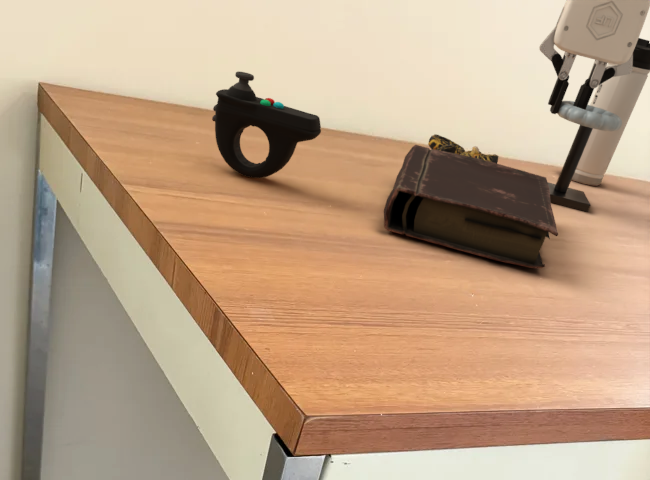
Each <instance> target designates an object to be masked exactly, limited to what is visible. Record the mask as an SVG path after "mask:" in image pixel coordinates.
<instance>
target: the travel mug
mask: <svg viewBox="0 0 650 480" xmlns="http://www.w3.org/2000/svg"><path fill="white" fill-rule="evenodd" d="M615 65H618V64H611V63H607V65H606V67H609V66H610V67H611V66H615ZM649 74H650V40H648V39H644V38H641V37H639V38H638V41H637V43H636V46H635V49H634V51H633V67H632V72H631V73H630V74H627V75H622V76H617V77H612V78H610V79H608V80H607V81H605V82H603V83H602V84H600V85H598V87H596V90H595V92H594V94H593V97H592V100H591V102H590V104H589V105H591V106H594V107H597V108H600V109H603V110H606V111H609V112H611V113H614V114H616V115H618V116H619V117H620V118H621V120H622V125H621V127H620V128H619V129H618V130H617V131H603V130H597V129H593V130H592V132H591V134H590V137H589V139H588V142H587V144H586V146H585V149H584V151H583V154H582V156H581V158H580V161H579V163H578V166H577V168H576V170H575V173H574V175H573V178H572V180H571V181H572V182H576V183H579V184H583V185H586V186H593V187H597V186H600V185H601V184H602V181H603V180H604V177H605V174H606V172H607V170H608V168H609V166H610V164H611V161H612V159H613V156H614V154H615V152H616V150H617V148H618V145H619V143H620V140H621V138H622V136H623V134H624V132H625V128H626V127H627V124H628V122H629V120H630V117H631V115H632V113H633V111H634V109H635V107H636V104H637V102H638V100H639V97H640V96H641V93H642V90H643V89H644V86H645V84H646V81H647V79H648V77H649Z"/></svg>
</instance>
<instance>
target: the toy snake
mask: <svg viewBox="0 0 650 480" xmlns="http://www.w3.org/2000/svg"><path fill="white" fill-rule="evenodd" d="M427 145H428V146H429V147H428V148H429V149H430V150H431V149H435V150H440V151H445V152H450V153H455V154H459V155H464V156H469V157H473V158H478V159H482V160H486V161H489V162H493V163H497V164H498V162H499V155H498V154H485V153H482V152H481V151H480V149H479V147H478V146H476V145H475V146H473V147H472V148H471V150H467V151H466V150H465V148H464V147H463V146H461V145H459V143H456V142H454V141H453V140H451V139H449V138H447V137H445V136H442V135H439V134H436V133H434V134H433V135H431V136H430V137H429V139H428V142H427Z"/></svg>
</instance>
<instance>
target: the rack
mask: <svg viewBox="0 0 650 480" xmlns="http://www.w3.org/2000/svg"><path fill="white" fill-rule="evenodd" d="M592 130H593V128H589V127H586V126H582V125H579V126H578V128H577V131H576V134H575V136H574V139H573V142H572V144H571V146H570V149H569V151H568V154H567V156H566V159H565V160H564V164H563V166H562V168H561V170H560V172H559V176H558V177H557V180H556V183H552V182H548V181H547V182H548V186H549V190H550V200H551V204H556V205H559V206H562V207H566V208H570V209H574V210H578V211H582V212H586V213H588V212H589V211H590V208H591V206H592V205H591V203H590V201H589V198H588V197H587V195H586V193H585V191H583V190H579V189H575V188H572V187H570V185H571V182H572V181H573V180H572V178H573V175H574V173H575V170H576V168H577V166H578V163H579V161H580V158H581V156H582V154H583V151H584V149H585V146H586V144H587V142H588V139H589V137H590V134H591V132H592Z"/></svg>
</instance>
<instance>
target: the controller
mask: <svg viewBox="0 0 650 480" xmlns="http://www.w3.org/2000/svg"><path fill="white" fill-rule="evenodd" d="M234 76H235V77H236V78H237V79H238V82H236V83H234V84H233V85H231V86H229V88H228V89H225V88H224V89H220V90H218V91H216V93H215V95H216V97H217V100H216V101H217V102H216V104H215V105H214V106H213V108H212V110H213V111H214V113H215V114H214V115H213V116H212V118H211V120H212V122H214V134H215V142H216V146H217V148H218V152H219V153H220V155H221V157H222V159H223V160H224V162H225V163H226V164H227V165H228V167H230V168H231V169H232V170H233V171H234V172H236V173H238V174H239V175H241V176H244V177H246V178H252V179H262V178H263V179H264V178H267V177H270V176H272V175H274V174H276V173H278V172H279V171H281V170H283V168H284V167H285V166H286V165H287V164H288V163H289V162H290V161H291V158H292V157H293V155H294V153H295V150H296V148H297V146H298V143H301V142H308V141H313V140H315V139H316V138H317V137H318V136H319V135H320V134H321V133H322V129H321V120H320V116H319V115H316V114H313V113H309V112H306V111H303V110H299V109H296V108H293V107H290V106H286V105H285V104H283V103H282V102H281V101H275V100H274V99H273V98H271V97H267V98H265V99H264V98H261V97H258V96H256V93H255V92H254V90H253V89H252V86H250V83H249V82H253V81H254V80H255V76H254V74H251V73H249V72H245V71H236V72H235V74H234ZM250 126H251V127H253V128H254V127H255V128H258V129H260V130H261V131H262V132H263V133H264V134H265V136H266V138H267V141H268V153H267V156H266V158H265V160H263V161H261V162H258V163H255V162H253V161H250V160H249V159H248V158H246V156H245V155H244V153H243V151H242V148H241V137H242V134H243V133H244V130H245V129H246V128H249V127H250Z"/></svg>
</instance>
